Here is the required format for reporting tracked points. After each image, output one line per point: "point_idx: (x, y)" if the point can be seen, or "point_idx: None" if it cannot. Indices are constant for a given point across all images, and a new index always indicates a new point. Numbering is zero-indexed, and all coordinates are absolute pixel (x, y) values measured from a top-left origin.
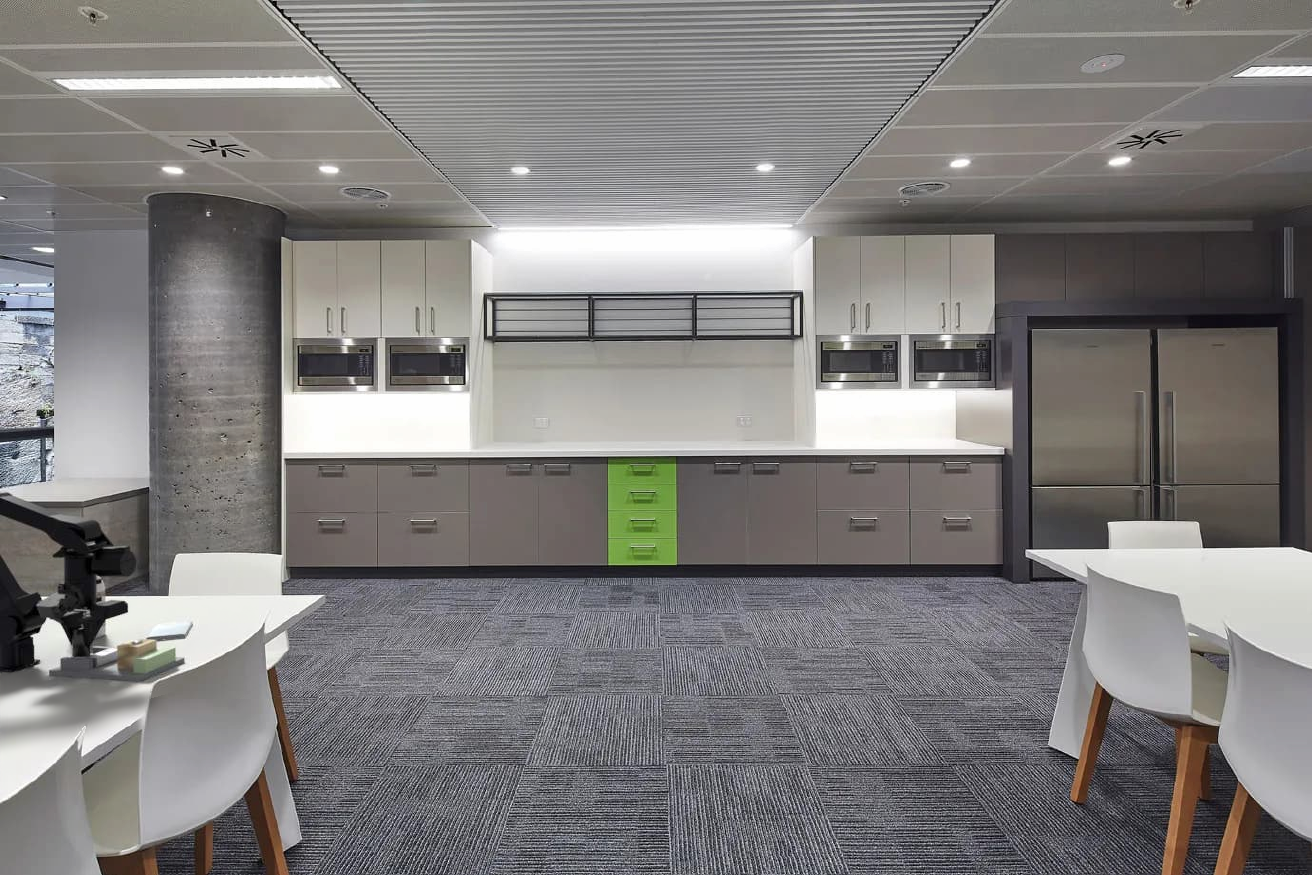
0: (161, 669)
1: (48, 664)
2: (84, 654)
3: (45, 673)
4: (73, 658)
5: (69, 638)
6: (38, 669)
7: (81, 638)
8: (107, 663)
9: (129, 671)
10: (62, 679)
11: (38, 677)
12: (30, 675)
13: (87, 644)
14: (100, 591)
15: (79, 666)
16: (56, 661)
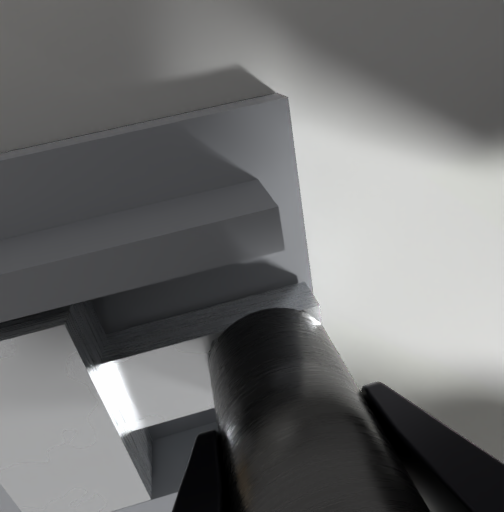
0: None
1: (480, 228)
2: (212, 363)
3: (335, 103)
4: (158, 263)
5: (428, 433)
6: (463, 140)
7: (250, 496)
8: None
9: None
10: (33, 56)
11: (295, 9)
12: (405, 20)
13: (191, 455)
14: None
15: (58, 234)
16: (477, 279)
